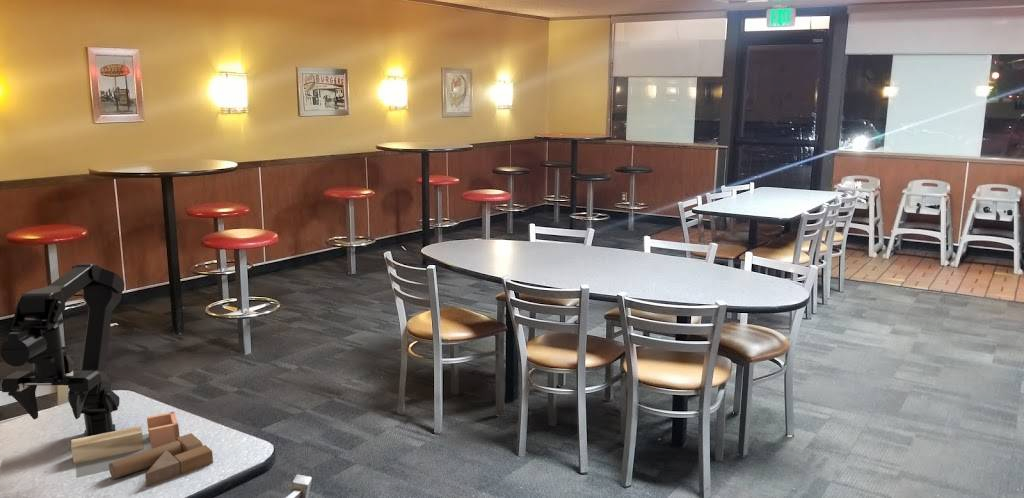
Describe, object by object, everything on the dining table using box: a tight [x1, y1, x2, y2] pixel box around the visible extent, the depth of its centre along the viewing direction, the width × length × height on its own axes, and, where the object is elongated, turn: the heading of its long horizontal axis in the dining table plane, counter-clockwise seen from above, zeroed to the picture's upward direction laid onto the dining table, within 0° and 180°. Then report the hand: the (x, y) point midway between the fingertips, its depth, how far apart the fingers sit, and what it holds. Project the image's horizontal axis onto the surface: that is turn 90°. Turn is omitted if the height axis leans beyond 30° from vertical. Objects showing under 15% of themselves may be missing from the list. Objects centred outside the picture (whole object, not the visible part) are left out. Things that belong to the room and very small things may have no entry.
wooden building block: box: [70, 425, 144, 465], centre depth 174 cm, size 4×14×4 cm, turn 119°
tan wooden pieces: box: [108, 432, 214, 488], centre depth 166 cm, size 4×11×18 cm
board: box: [76, 433, 152, 478], centre depth 175 cm, size 15×21×1 cm
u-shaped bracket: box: [146, 411, 181, 449], centre depth 180 cm, size 8×6×5 cm
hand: (56, 418), depth 168 cm, fingers open, 9 cm apart
